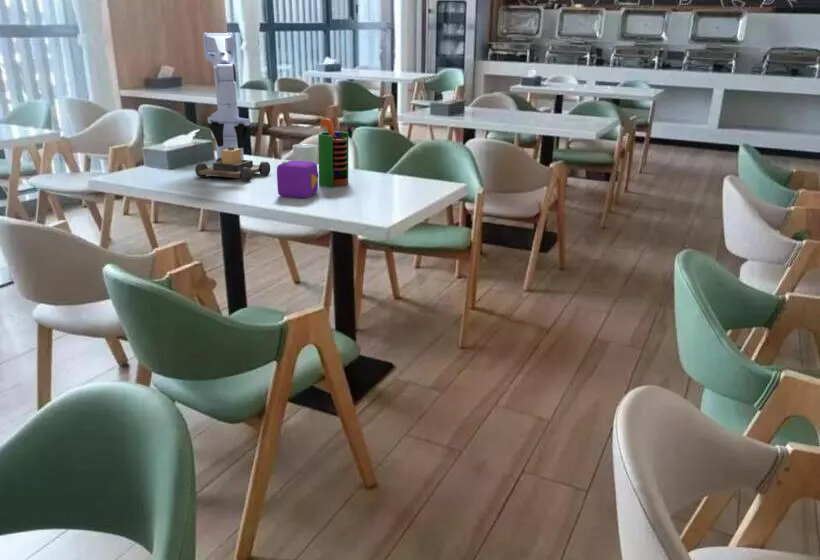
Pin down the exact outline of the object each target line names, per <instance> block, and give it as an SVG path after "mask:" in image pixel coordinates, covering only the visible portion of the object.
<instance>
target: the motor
mask: <svg viewBox="0 0 820 560" xmlns="http://www.w3.org/2000/svg"><path fill="white" fill-rule="evenodd" d="M320 127H326V128H327V131H321V132H320V131H319V132H318V136H317V137H318V186H321V187H324V188H331V189H333V188H341V187H346V186H348V183H349V132H348V131H347V132H346V131H335V128H334V122H333V120H332V119H331V118H321V119H320Z"/></svg>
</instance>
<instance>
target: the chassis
mask: <svg viewBox="0 0 820 560" xmlns="http://www.w3.org/2000/svg"><path fill="white" fill-rule="evenodd" d="M212 164H213V165H212V166H210V167H208V165H207V164H206V163H203V162H198V163H197V164H196V165H195V169H194V170H195V171H194V172H195V175H196V177H198V178H205V177H207V176H214V177H224V178H235V179H240V180H241V181H242V182H245V183H246V182H250V181H251V180H252V178H253V175H254V174H257V173H259V174H260V175H261V176H269V174H271V173H270V172H271V165H270V163H269V162H268V161H261V162H260V163H259V164H254V163H253V160H250V159H249V160H248V159H244V160H242V163H240V164H237V165H231V164H222V158H218V159H217V158H216V162H213V163H212Z"/></svg>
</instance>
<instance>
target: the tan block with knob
mask: <svg viewBox="0 0 820 560" xmlns="http://www.w3.org/2000/svg"><path fill="white" fill-rule="evenodd" d="M221 153H222V164H231V165H237V164H240V163H242V158H241V149H234V146H228V149H225V150H221Z"/></svg>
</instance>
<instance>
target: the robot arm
mask: <svg viewBox="0 0 820 560" xmlns="http://www.w3.org/2000/svg"><path fill="white" fill-rule="evenodd" d="M202 41H203V43H202V44H203V50H204V57H205V59H206V60H207V61H208V62H210V63H211V65H212V68H213V73H214V75H213V76H214V84H215V95H216V96H215V97H216V104H217V110H216V111H215V112H214V113H212V114H211V115H210V116H207V123H208V128H209V129H210V133H211V134H210V135H211V138H212V139H215V147H216V160H217V159H218V158H222V153H221V150H225V149H228V146H234V149H241V158H242V160H245V157H244V146H245V141H246V140H245V139H246V136H247V133H248V131H249V129H250V126H251V119H250V118H244V117H239V115H238V102H237V89H236V88H237V87H236V86H237V85H236V83H237V80H238V78H237V77H238V76H237V75H238V73H237V68H236V64H235V63H234V62H233V59H234V55H235V53H234V52H235V39H234V34H233V33H232V32H228V33H227V32H225V33H224V32H203V33H202ZM212 166H213V163H212Z"/></svg>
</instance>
